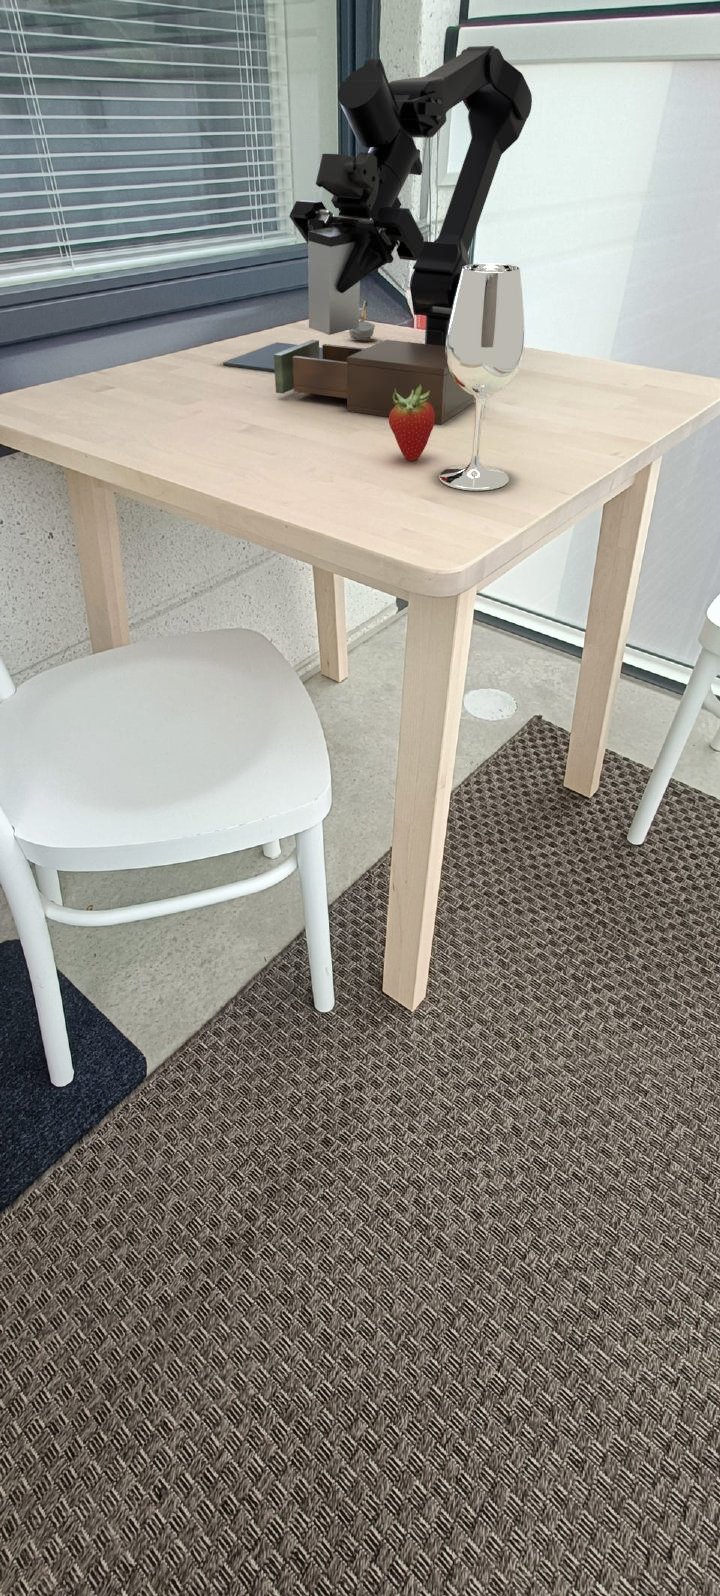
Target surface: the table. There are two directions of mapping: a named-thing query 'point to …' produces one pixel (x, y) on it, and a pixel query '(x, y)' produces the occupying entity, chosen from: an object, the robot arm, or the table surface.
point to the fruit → (412, 423)
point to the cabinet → (403, 379)
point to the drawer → (313, 369)
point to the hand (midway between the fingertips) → (326, 288)
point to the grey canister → (331, 281)
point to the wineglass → (484, 353)
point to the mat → (262, 357)
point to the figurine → (362, 327)
